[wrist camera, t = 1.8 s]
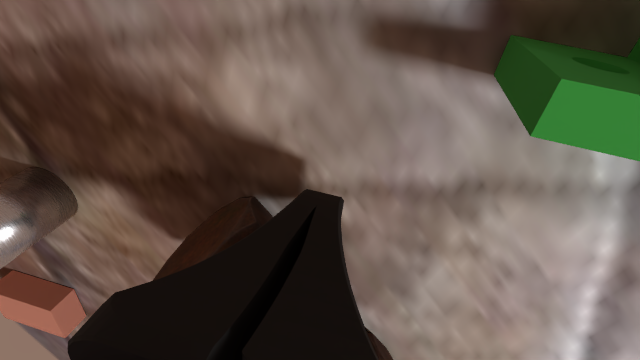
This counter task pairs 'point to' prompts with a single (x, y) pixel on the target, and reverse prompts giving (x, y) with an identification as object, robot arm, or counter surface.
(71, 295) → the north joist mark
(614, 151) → the pipe clamp
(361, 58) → the counter surface
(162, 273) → the bolt
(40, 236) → the two-tone metal capsule
